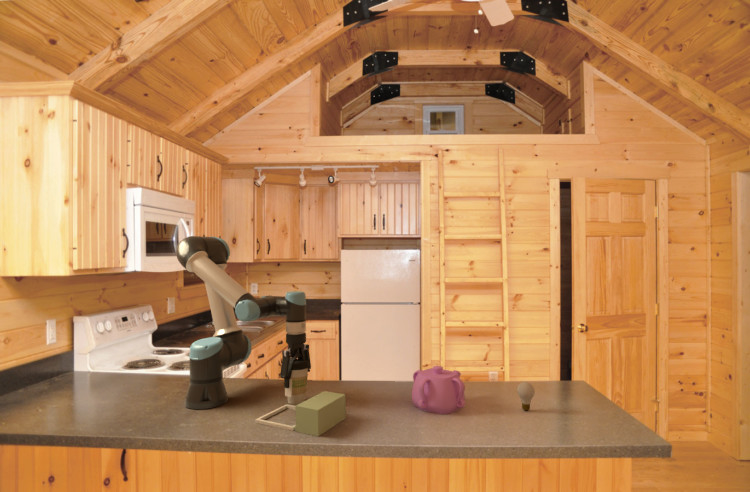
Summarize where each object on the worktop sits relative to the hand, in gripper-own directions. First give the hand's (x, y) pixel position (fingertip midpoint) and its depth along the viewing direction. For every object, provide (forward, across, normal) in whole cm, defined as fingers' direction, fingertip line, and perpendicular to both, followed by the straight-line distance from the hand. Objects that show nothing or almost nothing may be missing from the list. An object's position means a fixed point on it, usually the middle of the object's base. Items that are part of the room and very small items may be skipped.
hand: (296, 392), depth 167 cm
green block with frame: (+3, -15, -13) cm, 20 cm away
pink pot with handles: (+4, +20, -50) cm, 54 cm away
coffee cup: (+4, 0, 0) cm, 4 cm away
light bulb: (+4, +28, -79) cm, 84 cm away
